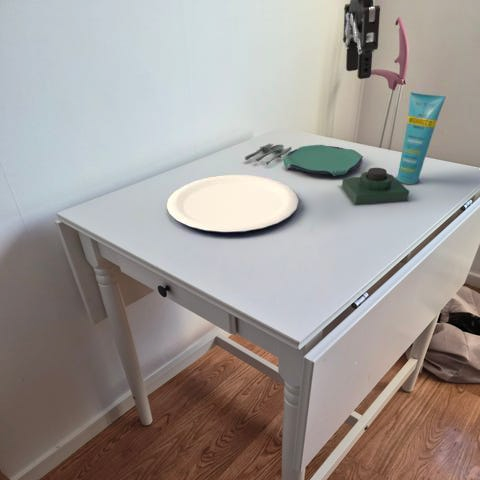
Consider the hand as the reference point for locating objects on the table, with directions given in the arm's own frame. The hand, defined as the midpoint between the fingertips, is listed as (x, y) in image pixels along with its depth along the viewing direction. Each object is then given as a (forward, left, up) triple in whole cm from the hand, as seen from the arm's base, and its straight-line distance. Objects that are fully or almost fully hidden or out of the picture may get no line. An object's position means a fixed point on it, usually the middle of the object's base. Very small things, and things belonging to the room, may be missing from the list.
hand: (357, 74), depth 78 cm
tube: (-20, -9, -26) cm, 33 cm away
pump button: (-9, -3, -22) cm, 24 cm away
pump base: (-9, -3, -25) cm, 27 cm away
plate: (+24, -2, -26) cm, 35 cm away
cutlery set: (+2, -26, -26) cm, 37 cm away
